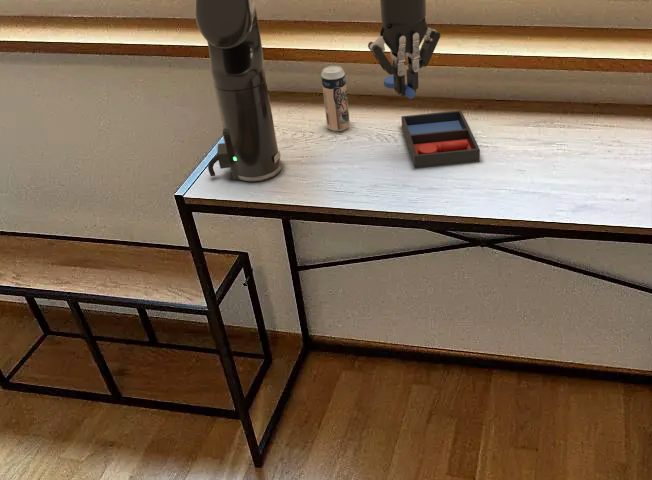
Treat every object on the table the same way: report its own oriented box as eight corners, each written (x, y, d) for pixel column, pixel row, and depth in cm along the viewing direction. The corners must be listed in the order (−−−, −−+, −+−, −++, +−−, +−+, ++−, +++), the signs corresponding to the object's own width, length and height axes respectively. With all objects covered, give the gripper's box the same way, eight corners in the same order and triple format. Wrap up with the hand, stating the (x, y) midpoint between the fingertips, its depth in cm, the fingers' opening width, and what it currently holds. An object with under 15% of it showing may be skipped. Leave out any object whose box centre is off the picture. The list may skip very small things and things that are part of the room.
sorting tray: (414, 168, 134) (414, 156, 133) (401, 127, 147) (401, 116, 145) (479, 161, 135) (480, 149, 134) (461, 121, 148) (461, 110, 146)
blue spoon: (422, 97, 126) (422, 88, 125) (403, 102, 125) (403, 93, 124) (398, 78, 133) (398, 70, 132) (380, 83, 132) (379, 74, 131)
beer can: (345, 133, 146) (339, 75, 138) (323, 131, 147) (316, 73, 139) (353, 123, 149) (348, 65, 141) (332, 121, 151) (326, 63, 142)
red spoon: (466, 143, 139) (466, 136, 138) (470, 152, 137) (470, 144, 135) (416, 149, 139) (416, 141, 138) (419, 158, 136) (419, 150, 135)
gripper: (373, 1, 111) (381, 109, 123) (450, -14, 115) (449, 92, 127) (355, -11, 116) (363, 94, 128) (428, -25, 120) (430, 78, 132)
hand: (406, 93), depth 128 cm, fingers closed on blue spoon, 1 cm apart
